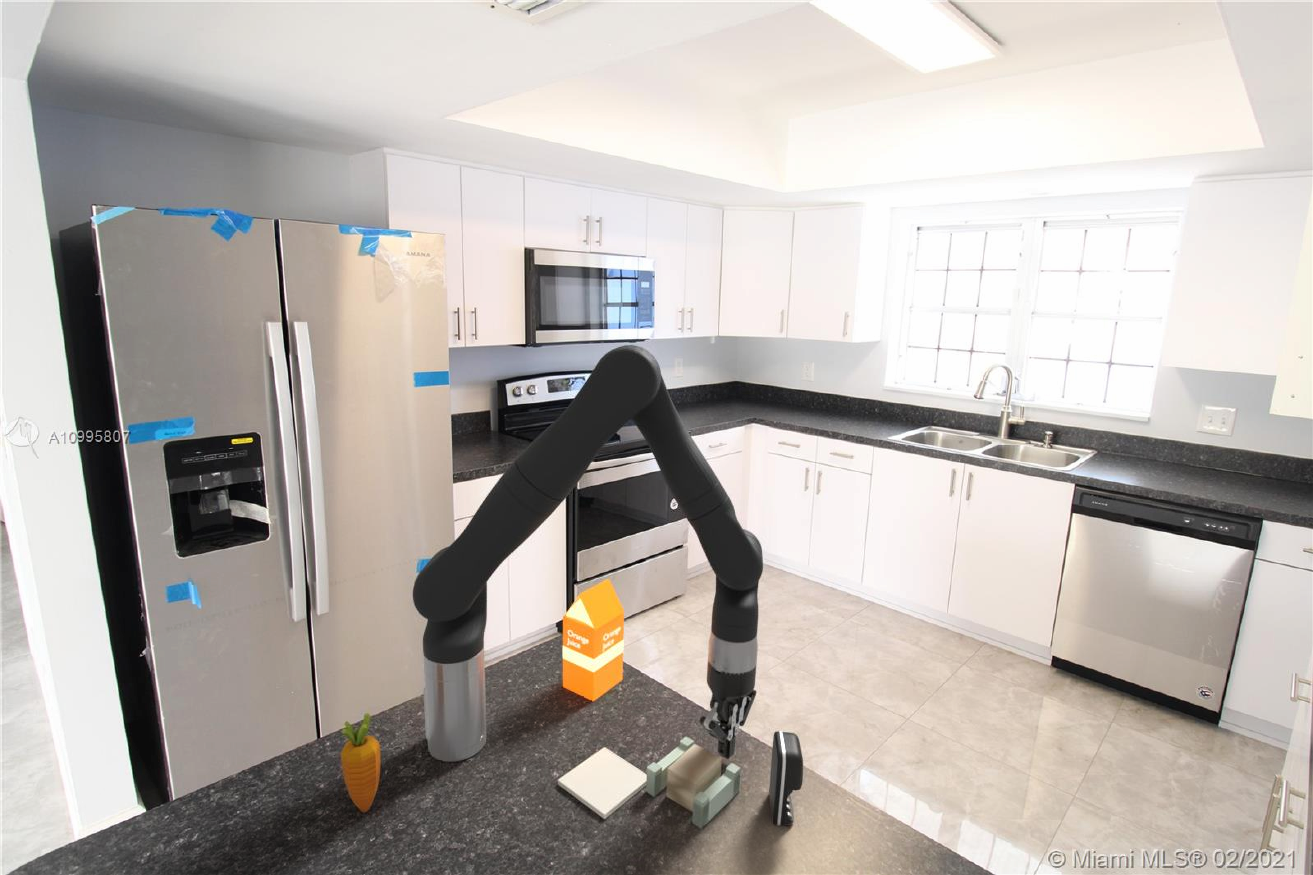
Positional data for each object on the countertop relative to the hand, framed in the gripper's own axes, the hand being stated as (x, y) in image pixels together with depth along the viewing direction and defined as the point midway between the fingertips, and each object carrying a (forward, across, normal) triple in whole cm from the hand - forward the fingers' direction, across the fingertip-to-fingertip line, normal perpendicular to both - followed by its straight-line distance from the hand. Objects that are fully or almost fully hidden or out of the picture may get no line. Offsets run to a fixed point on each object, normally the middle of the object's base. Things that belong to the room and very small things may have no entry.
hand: (725, 754), depth 106 cm
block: (+1, +8, 0) cm, 9 cm away
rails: (+1, +9, 0) cm, 9 cm away
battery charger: (+2, +3, +12) cm, 12 cm away
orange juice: (+2, 0, -31) cm, 31 cm away
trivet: (+1, +16, -11) cm, 20 cm away
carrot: (+2, +44, -32) cm, 54 cm away
